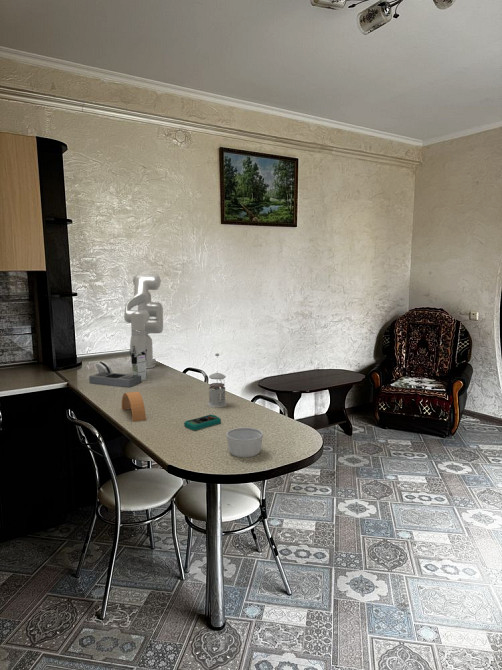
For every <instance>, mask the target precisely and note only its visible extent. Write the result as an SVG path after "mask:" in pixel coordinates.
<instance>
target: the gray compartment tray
mask: <svg viewBox="0 0 502 670" xmlns="http://www.w3.org/2000/svg"><path fill="white" fill-rule="evenodd" d="M88 379H89V384H91V385H92V384H93V385H102V386H104V385H105V386H110V385H111V386H112V387H119V388H121V387H122V388H131V387H134V386H136V385H138V384H141V383H142V380H141V376H140V375H133V374H129V373H127V374H126V373H119V372H118V373H117V372H113V373H109V372H101V373H99V372H98V373H96V374H92V375H90V376H89V377H88Z"/></svg>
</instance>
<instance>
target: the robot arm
mask: <svg viewBox="0 0 502 670" xmlns="http://www.w3.org/2000/svg"><path fill="white" fill-rule="evenodd" d="M161 281H162V280H161V277H160V275H159V274H136V275H133V278H132V283H133V287H134V288H133V289H134V290H133V296H132V297H131V298H129V300H128V301H127V302H126V304H125V306H124V315H123V317H124V322H126V323H128V324H131V326H130V327H131V329H130V330H131V336H130V342H129V350H128V352H129V355H130V357H131V358H130V359H131V361H130V363H131V364H137V357H136V355H137V354H141V355H145V361H146V369H152V368H155V367H156V364H155V363H154V362H156V358H153V357H154V356H153V354H154V353H153V339H152V337H151V336H150V334H161V333H163V331H164V307H163V305H162V303H161V302H158V301H155V302H152V294H151V293H150V291H156V290H159V288H160V287H161ZM136 306H137V310H136V309H135V310H134V309H133V308H134V307H136ZM132 309H133V310H132Z"/></svg>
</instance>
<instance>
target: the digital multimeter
mask: <svg viewBox="0 0 502 670" xmlns="http://www.w3.org/2000/svg"><path fill="white" fill-rule="evenodd" d="M221 423H222V419H221V418H220V417H219V416H217V415H214V414H208V415H204V416H201V417H197V418H192V419H187V420H185V421H184V422H183V427H185V428H187V429H189V430H192V431H194V432H195V431H198V430H201V429H204V428H208V427H212V426H215V425H219V424H221Z"/></svg>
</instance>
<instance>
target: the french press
mask: <svg viewBox="0 0 502 670" xmlns="http://www.w3.org/2000/svg"><path fill="white" fill-rule="evenodd" d="M215 356H216V357H219V356H220V353H215ZM226 377H227V376H226V375H225V374H223V373H221V372H220V373H219V372H215V373H212V374H209V376H208V378H209V379H211V380H219V381H220V382H213V383H210V384H209V388H208V392H209V393H208V402H207V404H206V405H207V406H208V407H211V408H223V407H226V406H227V405H228V403H227V402H226V386H225V383H224V382H223V383H222V381H225V378H226Z"/></svg>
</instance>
